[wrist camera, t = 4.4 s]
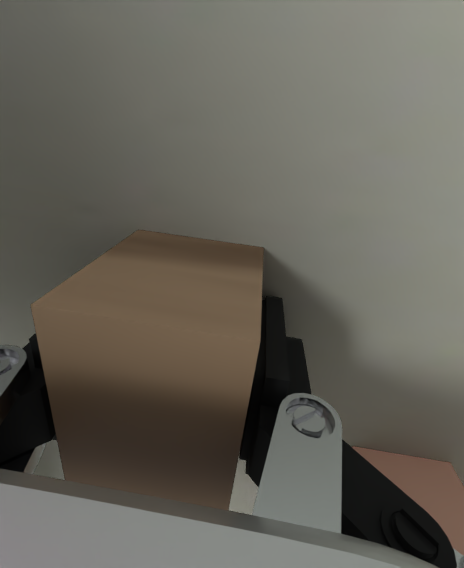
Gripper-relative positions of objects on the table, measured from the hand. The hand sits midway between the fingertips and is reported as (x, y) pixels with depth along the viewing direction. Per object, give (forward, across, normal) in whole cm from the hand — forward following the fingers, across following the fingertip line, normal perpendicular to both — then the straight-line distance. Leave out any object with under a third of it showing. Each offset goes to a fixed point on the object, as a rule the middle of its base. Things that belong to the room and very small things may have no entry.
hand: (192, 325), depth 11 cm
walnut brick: (0, 0, 0) cm, 0 cm away
